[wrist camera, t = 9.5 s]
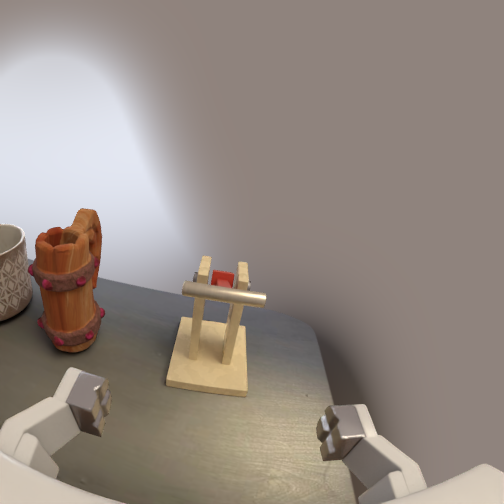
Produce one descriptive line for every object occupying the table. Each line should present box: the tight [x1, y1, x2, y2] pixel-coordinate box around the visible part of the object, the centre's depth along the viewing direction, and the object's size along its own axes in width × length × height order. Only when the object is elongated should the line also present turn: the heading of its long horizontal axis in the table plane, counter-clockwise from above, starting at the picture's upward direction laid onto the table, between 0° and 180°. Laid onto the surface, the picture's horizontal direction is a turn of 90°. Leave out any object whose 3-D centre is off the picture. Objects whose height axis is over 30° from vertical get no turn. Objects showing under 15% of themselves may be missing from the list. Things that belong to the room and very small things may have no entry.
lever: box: [182, 270, 266, 308], centre depth 26 cm, size 12×6×2 cm, turn 2°
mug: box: [28, 208, 105, 352], centre depth 31 cm, size 15×8×15 cm, turn 5°
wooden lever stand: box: [166, 256, 251, 397], centre depth 33 cm, size 12×9×13 cm
